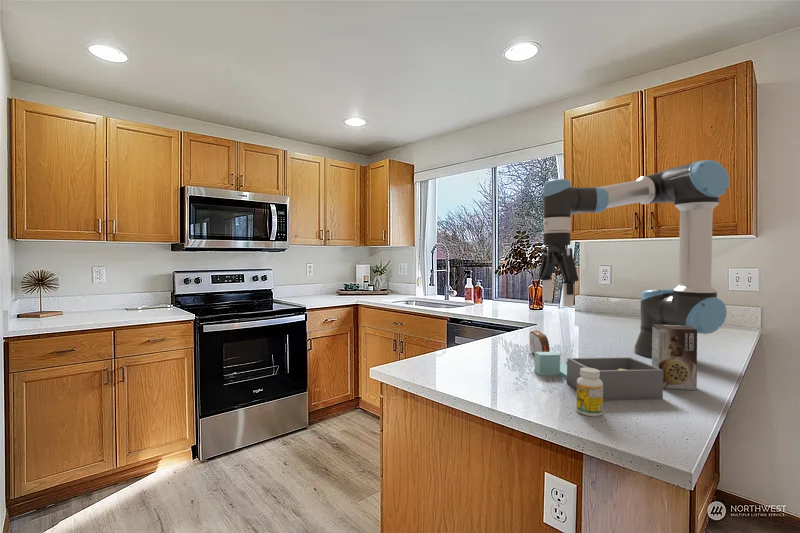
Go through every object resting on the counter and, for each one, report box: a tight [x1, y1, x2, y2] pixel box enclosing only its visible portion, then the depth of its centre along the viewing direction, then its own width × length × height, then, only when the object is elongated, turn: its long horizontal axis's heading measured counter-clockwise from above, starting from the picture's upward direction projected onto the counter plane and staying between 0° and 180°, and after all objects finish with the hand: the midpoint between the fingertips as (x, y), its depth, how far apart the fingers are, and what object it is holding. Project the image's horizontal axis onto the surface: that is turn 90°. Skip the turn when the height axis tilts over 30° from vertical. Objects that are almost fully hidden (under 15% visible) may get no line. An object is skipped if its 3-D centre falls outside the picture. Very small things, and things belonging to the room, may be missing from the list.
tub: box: [566, 356, 664, 401], centre depth 109 cm, size 18×13×7 cm
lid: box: [533, 351, 567, 380], centre depth 125 cm, size 25×14×6 cm, turn 95°
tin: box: [528, 330, 551, 356], centre depth 146 cm, size 15×3×8 cm, turn 179°
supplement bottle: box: [575, 368, 604, 417], centre depth 94 cm, size 5×5×10 cm
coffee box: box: [651, 324, 698, 391], centre depth 114 cm, size 9×6×16 cm
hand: (557, 303), depth 126 cm, fingers open, 13 cm apart
